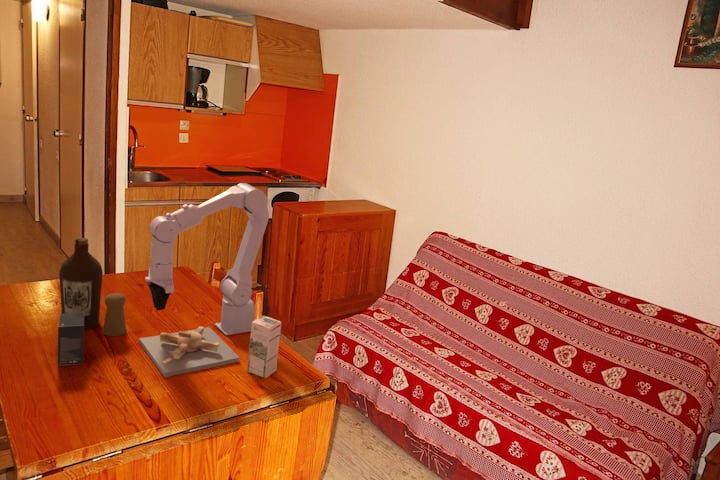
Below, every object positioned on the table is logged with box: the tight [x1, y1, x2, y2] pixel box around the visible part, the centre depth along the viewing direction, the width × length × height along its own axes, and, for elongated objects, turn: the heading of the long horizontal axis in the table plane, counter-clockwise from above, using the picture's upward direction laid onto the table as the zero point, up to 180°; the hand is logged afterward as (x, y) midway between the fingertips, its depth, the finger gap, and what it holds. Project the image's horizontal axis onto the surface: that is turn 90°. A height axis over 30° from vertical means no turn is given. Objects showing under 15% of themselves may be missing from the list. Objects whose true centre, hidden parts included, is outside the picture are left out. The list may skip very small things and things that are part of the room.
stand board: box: [138, 326, 240, 378], centre depth 144 cm, size 20×20×2 cm
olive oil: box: [58, 237, 103, 331], centre depth 148 cm, size 11×11×25 cm
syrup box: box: [246, 315, 282, 379], centre depth 138 cm, size 6×6×14 cm
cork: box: [102, 292, 127, 337], centre depth 148 cm, size 6×6×11 cm
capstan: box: [159, 326, 219, 359], centre depth 143 cm, size 12×12×4 cm
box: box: [57, 313, 85, 367], centre depth 132 cm, size 8×6×11 cm
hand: (159, 308), depth 146 cm, fingers closed
